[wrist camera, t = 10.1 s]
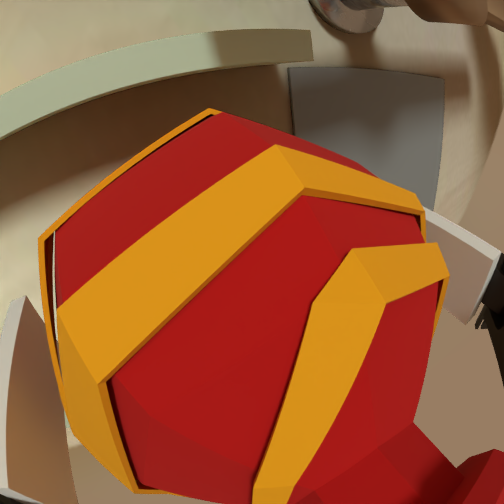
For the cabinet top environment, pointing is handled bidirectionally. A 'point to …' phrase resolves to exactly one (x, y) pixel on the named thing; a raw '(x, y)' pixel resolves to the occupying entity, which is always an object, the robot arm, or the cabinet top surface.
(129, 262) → the potion bottle
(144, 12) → the cabinet top surface
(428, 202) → the mat
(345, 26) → the metal pivot base
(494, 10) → the turn bar
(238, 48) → the channel
